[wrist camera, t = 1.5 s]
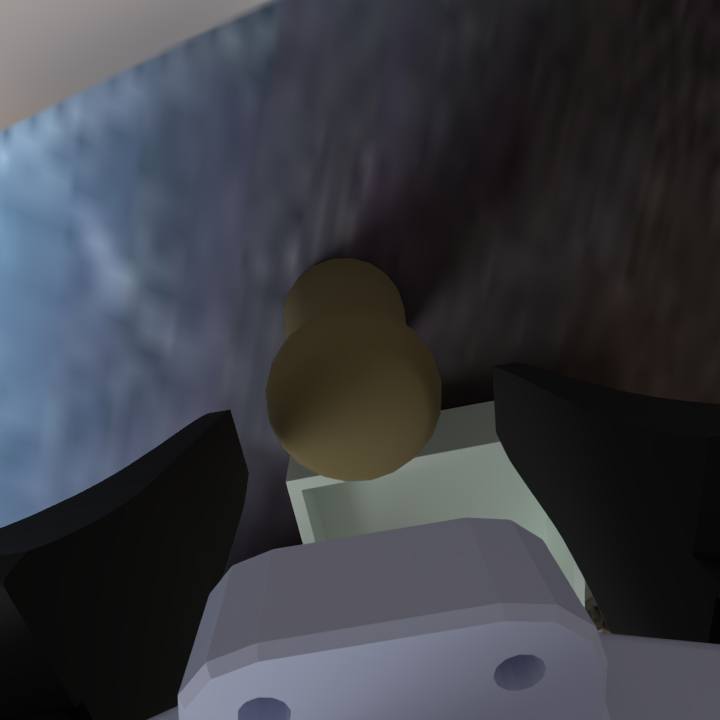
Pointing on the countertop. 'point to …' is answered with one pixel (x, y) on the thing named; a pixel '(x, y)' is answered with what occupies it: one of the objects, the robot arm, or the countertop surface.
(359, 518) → the box
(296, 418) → the brown rounded lobed piece
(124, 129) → the countertop surface
